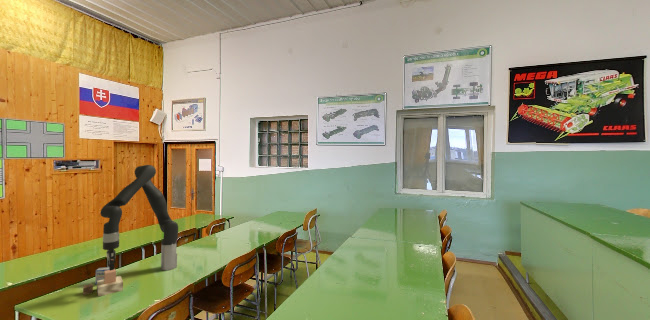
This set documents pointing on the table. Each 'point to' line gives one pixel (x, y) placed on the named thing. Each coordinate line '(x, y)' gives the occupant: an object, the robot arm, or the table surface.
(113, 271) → the terracotta block
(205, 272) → the table surface
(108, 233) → the robot arm
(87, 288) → the walnut block
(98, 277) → the medicine box
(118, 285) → the birch block
